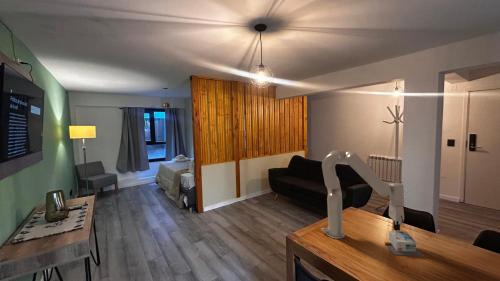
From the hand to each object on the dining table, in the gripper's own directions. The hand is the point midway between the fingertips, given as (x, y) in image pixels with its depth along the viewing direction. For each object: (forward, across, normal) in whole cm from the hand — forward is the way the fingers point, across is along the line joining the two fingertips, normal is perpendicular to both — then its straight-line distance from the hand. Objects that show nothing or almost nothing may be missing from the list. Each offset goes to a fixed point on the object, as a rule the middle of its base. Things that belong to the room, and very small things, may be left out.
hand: (396, 229), depth 138 cm
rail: (+9, +2, 0) cm, 9 cm away
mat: (+9, +8, 0) cm, 12 cm away
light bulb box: (+4, 0, 0) cm, 4 cm away
